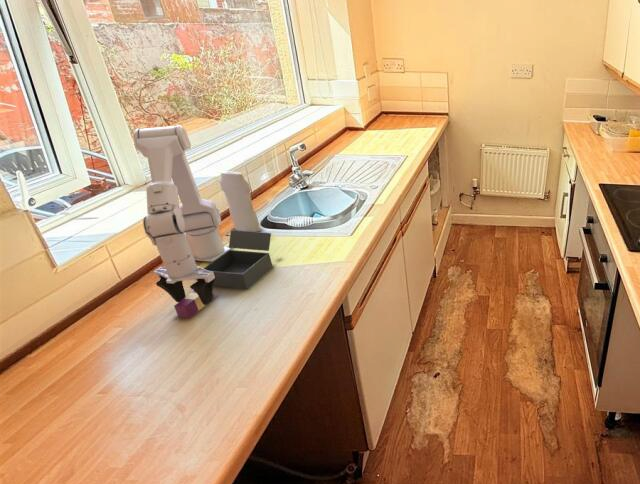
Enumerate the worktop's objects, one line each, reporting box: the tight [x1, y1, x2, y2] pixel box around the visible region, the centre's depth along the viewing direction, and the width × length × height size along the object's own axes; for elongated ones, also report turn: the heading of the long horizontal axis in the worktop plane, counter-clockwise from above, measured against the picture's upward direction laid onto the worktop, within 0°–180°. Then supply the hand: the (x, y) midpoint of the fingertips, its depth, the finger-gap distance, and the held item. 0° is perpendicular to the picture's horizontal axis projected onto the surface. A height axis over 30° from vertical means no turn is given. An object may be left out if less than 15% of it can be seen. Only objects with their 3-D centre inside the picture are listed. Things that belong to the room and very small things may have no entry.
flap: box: [228, 229, 272, 252], centre depth 119 cm, size 13×5×1 cm
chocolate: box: [173, 290, 215, 319], centre depth 103 cm, size 3×8×4 cm, turn 174°
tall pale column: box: [218, 170, 262, 232], centre depth 136 cm, size 11×4×22 cm, turn 82°
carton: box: [202, 249, 274, 290], centre depth 115 cm, size 13×11×5 cm
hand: (194, 301), depth 103 cm, fingers open, 7 cm apart
